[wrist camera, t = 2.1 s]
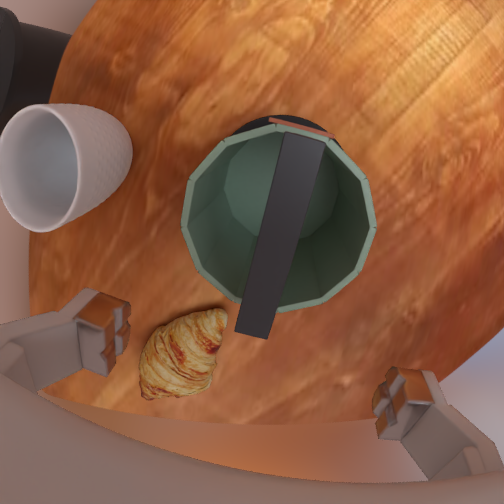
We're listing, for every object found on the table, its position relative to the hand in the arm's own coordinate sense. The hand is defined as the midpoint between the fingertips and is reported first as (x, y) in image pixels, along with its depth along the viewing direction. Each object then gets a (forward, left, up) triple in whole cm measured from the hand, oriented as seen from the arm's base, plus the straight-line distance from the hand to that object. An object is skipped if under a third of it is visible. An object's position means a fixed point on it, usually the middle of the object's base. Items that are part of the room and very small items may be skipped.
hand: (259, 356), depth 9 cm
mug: (-21, -1, -26) cm, 33 cm away
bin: (0, 0, -25) cm, 25 cm away
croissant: (-7, -25, -26) cm, 36 cm away
